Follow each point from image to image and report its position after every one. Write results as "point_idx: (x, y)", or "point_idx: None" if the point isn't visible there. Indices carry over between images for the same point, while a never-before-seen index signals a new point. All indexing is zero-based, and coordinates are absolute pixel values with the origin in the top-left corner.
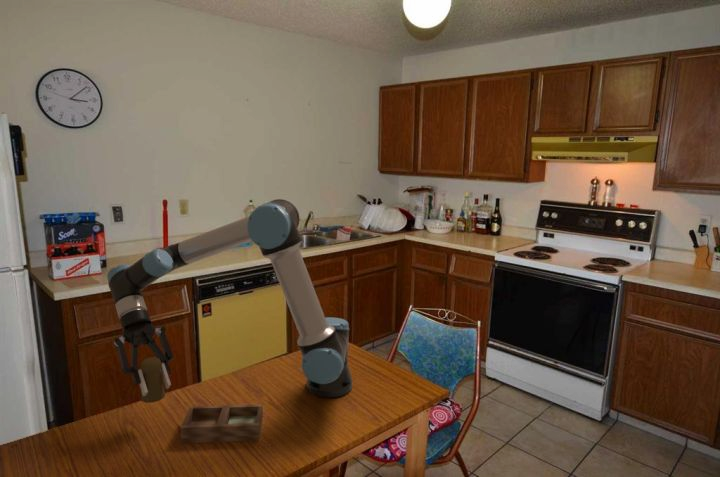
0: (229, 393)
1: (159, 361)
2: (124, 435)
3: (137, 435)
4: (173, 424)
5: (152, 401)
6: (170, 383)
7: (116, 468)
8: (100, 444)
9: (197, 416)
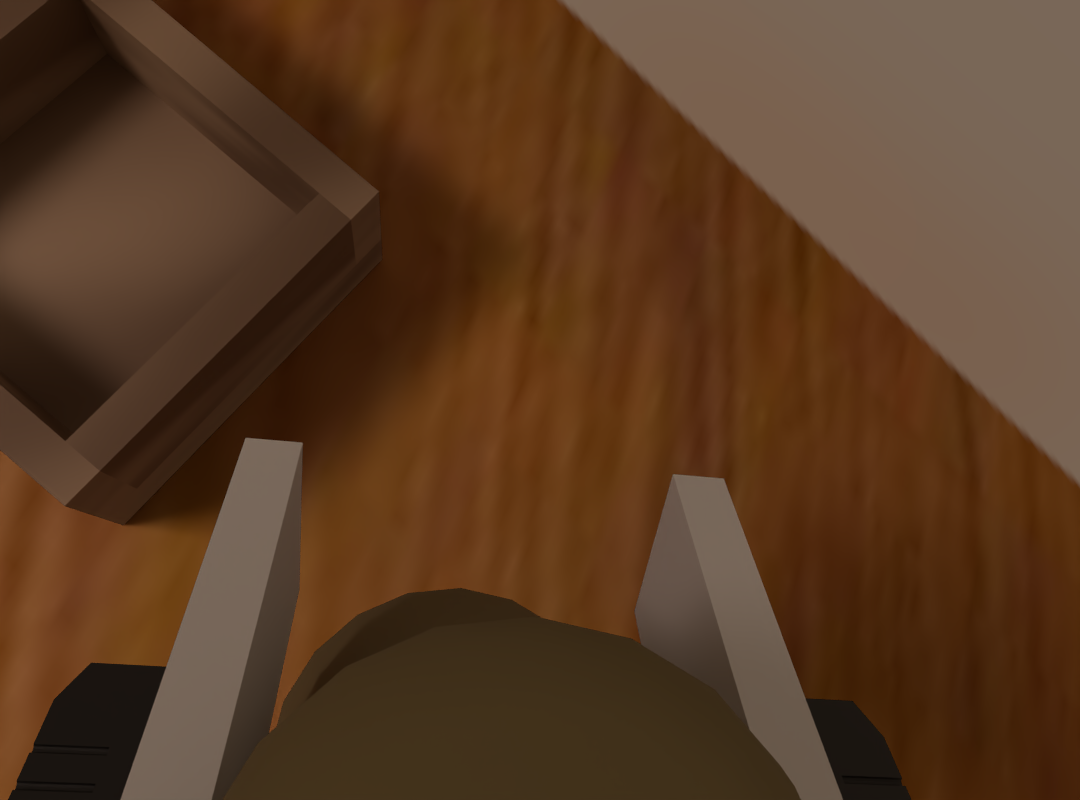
0: None
1: (286, 781)
2: None
3: None
4: None
5: (521, 606)
6: (246, 449)
7: (882, 327)
8: (912, 749)
9: (67, 428)
